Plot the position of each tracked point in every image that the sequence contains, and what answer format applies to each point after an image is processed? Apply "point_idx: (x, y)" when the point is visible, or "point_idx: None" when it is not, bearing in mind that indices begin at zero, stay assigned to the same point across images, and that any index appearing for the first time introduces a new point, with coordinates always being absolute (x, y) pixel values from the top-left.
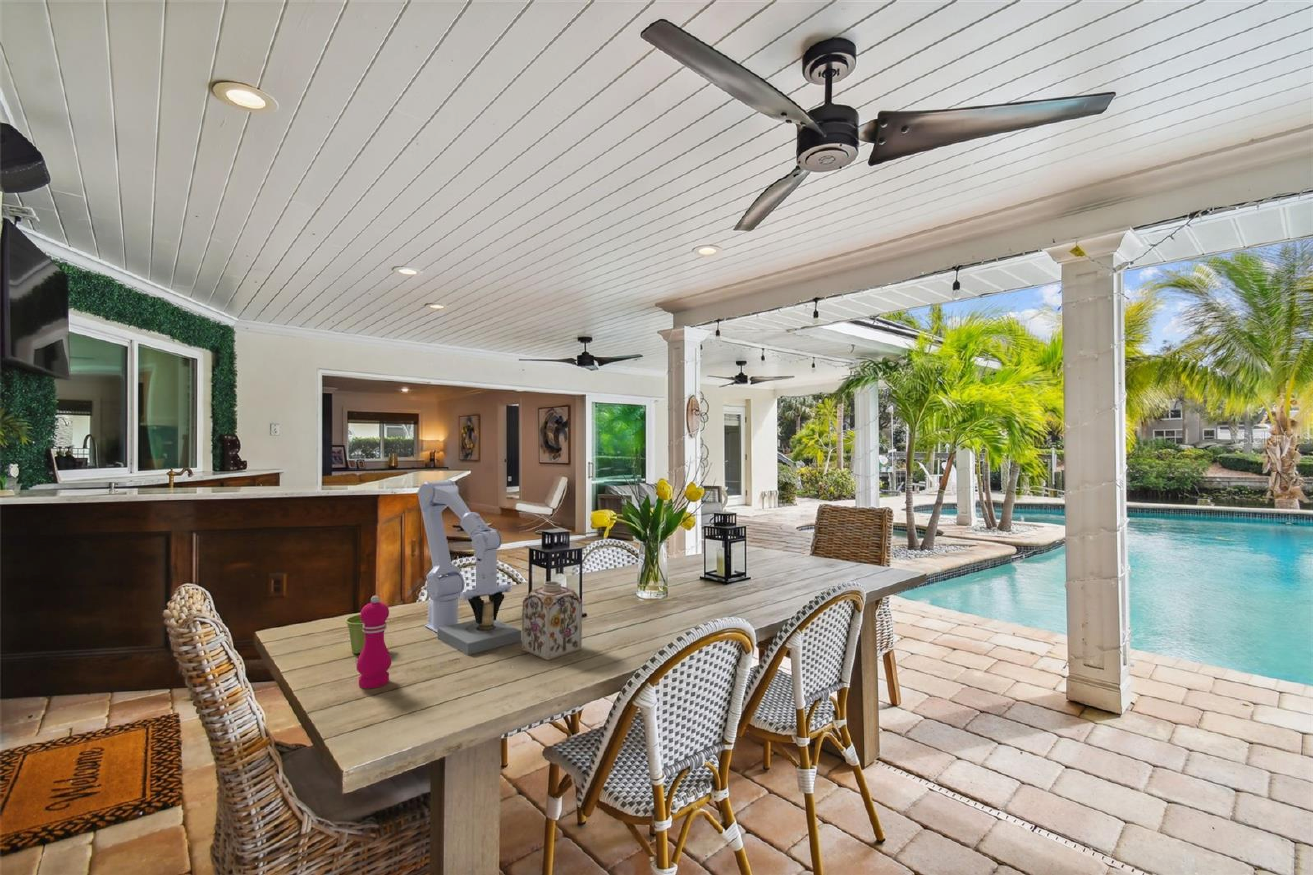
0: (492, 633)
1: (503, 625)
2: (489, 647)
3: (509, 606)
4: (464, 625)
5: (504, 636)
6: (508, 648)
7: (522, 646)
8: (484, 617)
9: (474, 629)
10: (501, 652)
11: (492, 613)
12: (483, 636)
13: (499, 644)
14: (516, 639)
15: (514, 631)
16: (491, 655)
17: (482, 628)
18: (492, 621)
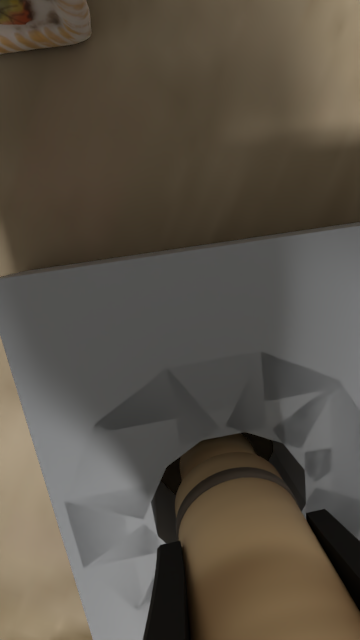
0: (251, 342)
1: (90, 494)
2: (289, 232)
3: None
4: None
5: (175, 252)
6: (166, 172)
7: (87, 7)
8: (318, 557)
9: (312, 502)
10: (243, 117)
11: (233, 604)
12: (343, 306)
13: (211, 244)
14: (62, 266)
15: (60, 287)
16: (324, 101)
17: (279, 475)
18: (209, 513)
